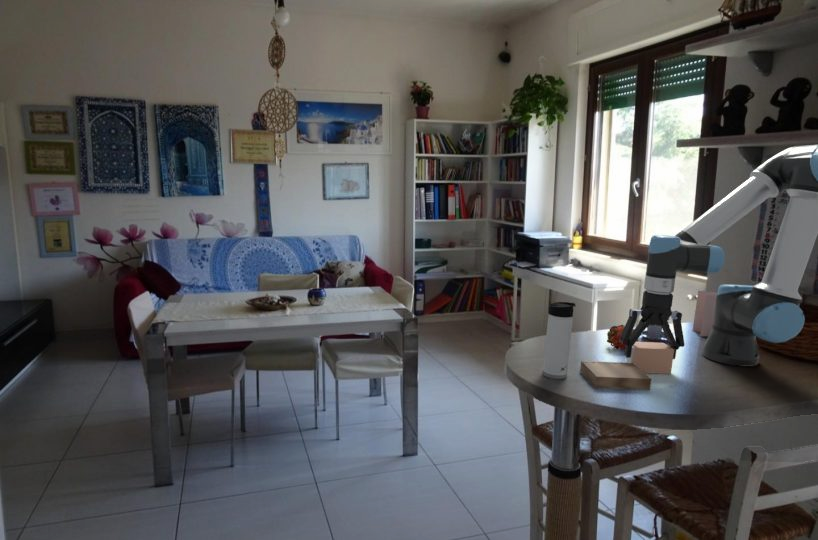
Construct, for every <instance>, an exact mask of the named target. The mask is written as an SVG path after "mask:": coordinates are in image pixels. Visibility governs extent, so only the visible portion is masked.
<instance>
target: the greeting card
mask: <svg viewBox="0 0 818 540" xmlns="http://www.w3.org/2000/svg"><path fill="white" fill-rule="evenodd" d="M716 295H717V292H714V291H707V290H706V291H705V290H698V291H697V296H696V297H697V298H696V303H695V310H694V311H695V312H694V319H693V325H692V326H693V327H692V332H698V333H700V335H699V336H700V337H709V335H710V333H711V331H712V326H713V319H714V312H715V305H716V298H717V297H716Z"/></svg>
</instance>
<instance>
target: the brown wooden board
mask: <svg viewBox="0 0 818 540" xmlns="http://www.w3.org/2000/svg"><path fill="white" fill-rule="evenodd" d="M579 367H580V370H579V372H580V371H581V372H582V373H581V372H580V373H581V374H582V375H583V376H584V377H585V378H586V379H587V380H588V382H589V383H590V384H591V385H592V386H593V387H594V388H595V389H615V390H639V391H640V390H641V391H651V388H652V386H651V385H652V378H651V377H650V376H649V375H647V373H644V372H642V371H641V370H640V369H639V368H638V367H636V366H635V365H634V364H633V363H627V362H624V361H623V362H618V361H617V362H616V361H593V360H581V361H580V366H579Z"/></svg>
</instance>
